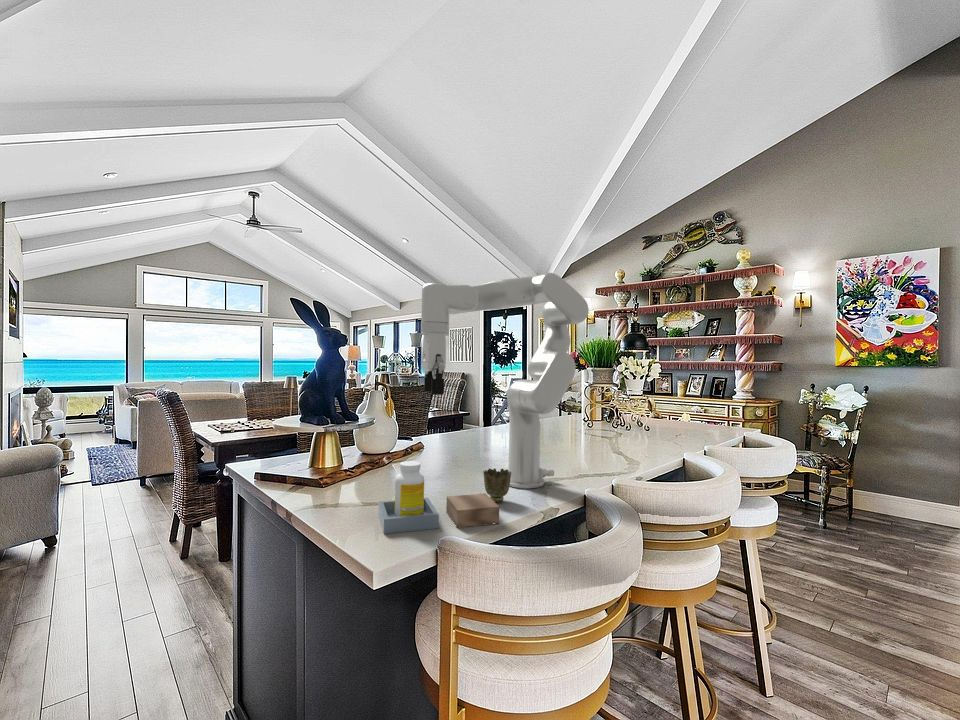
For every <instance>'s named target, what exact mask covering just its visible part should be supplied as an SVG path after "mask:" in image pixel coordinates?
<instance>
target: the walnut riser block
mask: <svg viewBox="0 0 960 720" xmlns="http://www.w3.org/2000/svg"><path fill="white" fill-rule="evenodd" d="M445 505H446V507H445V508H446V509H445V511H446V514H448V515H449V516H448V515H447V516H448V517H449V519H450V518H451V519H450V520H451V522H452V521H453V522H454V523H453V522H452V523H453V524H455V525H456V526H455V525H454V526H455V527H456V528H457V527H464V528H467V527H466V526H474V527H477V526H476V525H484V526H486V525H485V524H493V523H499V524H500V506H499V505H498V503H495V502H494V501H493V500H492V499H491V498H490V495H489V496H488V494H487V493H475V494H462V495H461V494H460V495H450V496H448V495H447V496H446V504H445ZM493 525H494V524H493Z"/></svg>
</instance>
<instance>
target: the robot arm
mask: <svg viewBox="0 0 960 720" xmlns="http://www.w3.org/2000/svg"><path fill="white" fill-rule="evenodd" d="M544 303H545V304H544ZM538 304H544V305H543V308H542V312H541V315H542V320H543V322H544V327H545V334H544V337H543V339H542V341H541V343H540V344H539V346H538V348H537V349H536V350H535V352H534V354H533V355H532V357H531V359H530V361H529V363H528V366H527V373H528V375H529V376H530V377H531V378H532V379H518V380H516V381H514V382H512V383H511V385H510V386H509V387H508V390H507V392H506V396H507V397H506V399H507V400H506V402H507V406H508V417H509V430H508V467H507V469H508V471H509V472H510V471H511V479H510V486H509V487H512V488H517V489H518V488H519V489H536V488H540V487H543V486H544V485H545V477H554V476H555V471H554V469H546V468H541V466H540V465H541V433H542V432H541V431H542V429H541V428H542V427H541V419H540V416H539V415H549V414H551V413H552V412H553V411H554V410H556V408H557V407H558V405H559V404H560V402H561V401H562V398H564V395H565V394H566V392H567V390H568V388H569V387H570V385H571V383H572V381H573V379H574V377H575V374H576V362H575V360H574V358H573V357H572V356H571V354H569V353H568V351H569V349H570V345H571V336H570V331H569V328H568V325H578V324H580V323H582V322H584V321H585V320H586V319H587V317H588V315H589V313H590V312H589V305H588V303H587V300H586V299H585V298H584V296H582V295H581V294H580V293H579V291H577V290H576V289H575V288H574V287H573V286H571V284H570V283H568V282H567V280H564V279H563V278H562V277H561V276H559V275H558V274H555V273H553V272H545V273H541V274H538V275H532V276H523V277H515V278H504V279H499V280H492V281H490V282H487V283H482V284H478V285H468V284H456V285H455V284H454V285H453V284H452V285H451V284H449V285H448V284H446V283H445V284H444V283H440V282H439V283H438V282H430V283H429V282H428V283H425V284H424V285H423V286H422V288H421V317H420V318H421V319H420V320H421V323H420V335H422V336H423V339H422V346H421V347H422V349H421V365H420V367H421V368H420V369H421V370H422V371H424V377H423V378H424V380H423V381H424V383H423V385H424V386H423V387H424V388H423V391H424V392H431V395H433V396H434V395H435V396H436V395H441V396H442V395H444V393H445V370H446V364H447V363H446V362H447V360H446V359H447V350H446V349H447V342H446V341H447V340H446V336H447V337H449V336H450V335H449V334H450V315H458V314H464V313H465V314H466V313H472V312H473V313H474V312H478V311H479V312H481V311H497V310H504V309H509V308H511V309H512V308H517V307H524V306H530V305H538Z"/></svg>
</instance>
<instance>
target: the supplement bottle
mask: <svg viewBox="0 0 960 720" xmlns="http://www.w3.org/2000/svg"><path fill="white" fill-rule="evenodd" d="M399 469H400V473H398V474H397V475H396V476H395V481H394V482H395V483H394V485H395V487H394V492H395V493H394V500H395V517H398V516H409V515H420V514H424V498H425V476H424V474H422V473H421V472H420V471H421V462H420V461H417V460H416V461H415V460H405V461H402V462H400V463H399Z"/></svg>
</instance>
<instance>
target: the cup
mask: <svg viewBox="0 0 960 720" xmlns="http://www.w3.org/2000/svg"><path fill="white" fill-rule="evenodd" d="M510 479H511V471H510V472H509V471H508V468H507V469H504V468H501V469H500V471H499V470H497V468H493V469H492V468H488V469H487V470H486V469H485V470H483V480H484V481H483V482H484V488H485V492H486V494H487V495H489V497H490V498H491V499H492V500H493V501H494V502H495V503H496V504H500V503H502V502H503V501H504V496H506V495H507V494H508V493H509V490H510V487H511V486H510ZM499 502H500V503H499Z"/></svg>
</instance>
